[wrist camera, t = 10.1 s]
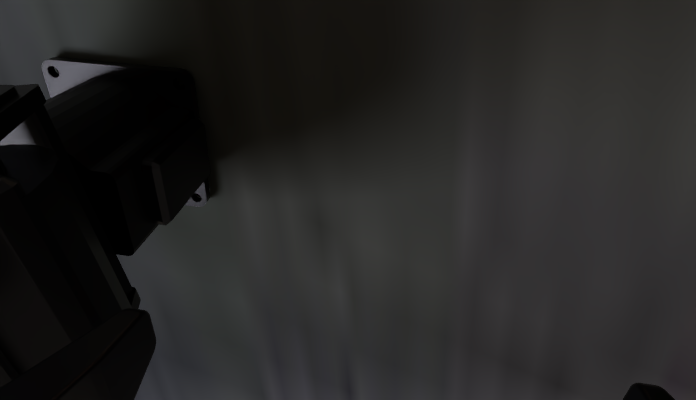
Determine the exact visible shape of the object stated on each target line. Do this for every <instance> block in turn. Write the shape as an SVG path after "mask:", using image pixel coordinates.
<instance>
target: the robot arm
mask: <svg viewBox="0 0 696 400" xmlns="http://www.w3.org/2000/svg"><path fill="white" fill-rule="evenodd" d="M54 67H55V68H57V69H58V71H59V74H58V73H57V72H56V71H55V69H54ZM42 71H43V75H44V78H45V81H46V84H47V87H48V90H49V93H50V97H51V98H50V99H48V100H46V99H45V97H44V95H43V93H42V91H41V89H40V87H39V85H38V84H29V85H17V86H14V85H0V400H134V399H135V396H136V394H137V391H138V389H139V387H140V384H141V382H142V379H143V377H144V375H145V372H146V370H147V367H148V365H149V362H150V360H151V358H152V355H153V353H154V350H155V346H156V337H155V333H154V329H153V325H152V322H151V318H150V315H149V313H148V312H147V311H145V310H140V309H138V308H139V304H140V297H139V295H138V293H137V290H136V289H135V288H134V287H131V285H130V283H129V281H128V279H127V276H126V274H125V272H124V270H123V268H122V266H121V264H120V262H119V260H118V258H117V256H116V254H118V255H126V256H131V255H133V254H134V253H135V251H136V250H137V249H138V248H139V247H140V246H141V244H142V243H143V242H144V241H145V240H146V239H147V237H148V236H149V235H150V234H151V233H152V232H153V230H154V229H155V228H156V227H157V226H158V225H159V224H160V225H167V224H168V223H169V222H171V221H172V220H173V218H174V217H175V216H176V215H177V214H178V212H179V211H180V210H181V209H182V208H183V206H184V205H188V206H196V207H201V206H203V205H205V204H206V202H207V201H208V200H209V198H210V192H209V185H208V176H209V175H210V165H209V157H208V150H207V142H206V135H205V127H204V124H203V123H202V121H201V120H200V119H199V112H198V105H197V97H196V90H195V83H194V79H193V77H192V75H191V74H190V73H189V72H188V71H186V70H183V69H178V68H167V67H156V66H145V65H134V64H124V63H113V62H102V61H91V60H80V59H70V58H59V57H55V58H51V59H48V60H46V61H44V62H43V64H42ZM177 78H180V79H181V80H183V82H184V84H185V85H184V87H183V86H180V85H179V84H178V82H177ZM195 193H197V194H199V195H200V196H201V198H199V197H197V196H196V195H195ZM623 400H675V399H674V398H673V397H672V396H671V395H670V394H669V393H668V392H667V391H665V390H664V389H663V388H661V387H659V386H656V385H651V384H644V383H635V384H633V385H632V386H631V387H630V388H629V390H628V392H627V393H626V395H625V397H624V398H623Z"/></svg>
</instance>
